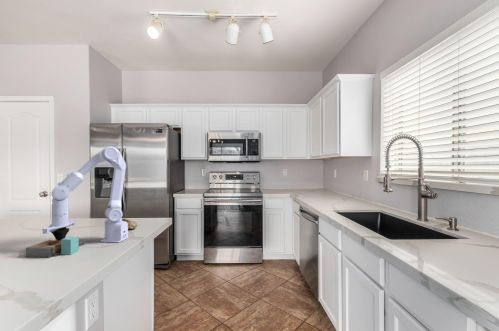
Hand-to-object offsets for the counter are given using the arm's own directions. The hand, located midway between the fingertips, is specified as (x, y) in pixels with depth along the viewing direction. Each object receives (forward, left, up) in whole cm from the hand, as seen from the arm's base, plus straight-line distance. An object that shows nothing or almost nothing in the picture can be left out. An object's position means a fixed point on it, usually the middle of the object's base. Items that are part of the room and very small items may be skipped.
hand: (60, 246), depth 104 cm
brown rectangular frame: (0, +5, -1) cm, 5 cm away
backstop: (0, +2, -1) cm, 2 cm away
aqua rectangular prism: (-8, +5, -1) cm, 10 cm away
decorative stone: (-9, -35, -2) cm, 37 cm away
